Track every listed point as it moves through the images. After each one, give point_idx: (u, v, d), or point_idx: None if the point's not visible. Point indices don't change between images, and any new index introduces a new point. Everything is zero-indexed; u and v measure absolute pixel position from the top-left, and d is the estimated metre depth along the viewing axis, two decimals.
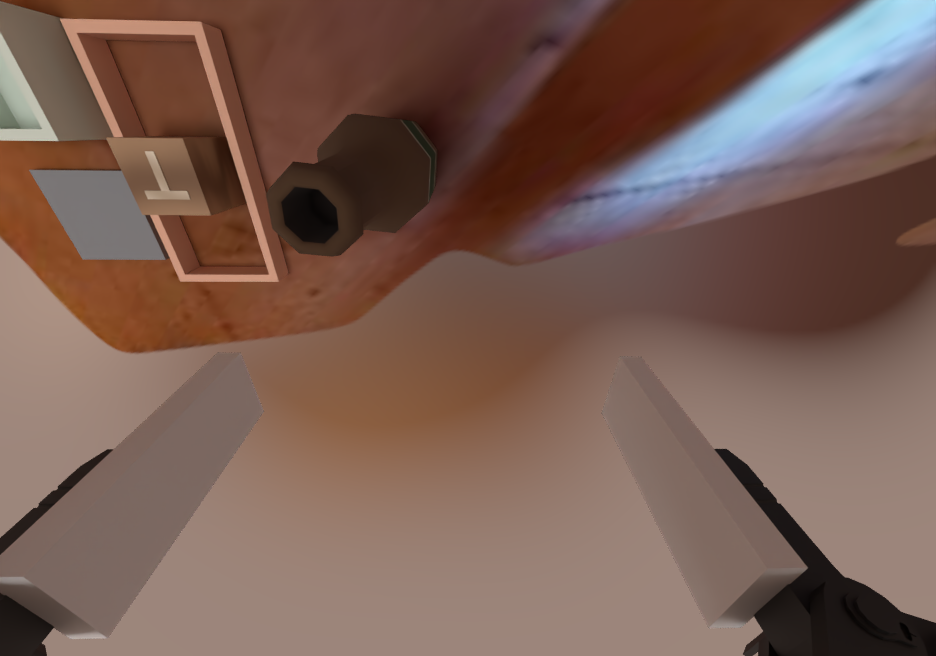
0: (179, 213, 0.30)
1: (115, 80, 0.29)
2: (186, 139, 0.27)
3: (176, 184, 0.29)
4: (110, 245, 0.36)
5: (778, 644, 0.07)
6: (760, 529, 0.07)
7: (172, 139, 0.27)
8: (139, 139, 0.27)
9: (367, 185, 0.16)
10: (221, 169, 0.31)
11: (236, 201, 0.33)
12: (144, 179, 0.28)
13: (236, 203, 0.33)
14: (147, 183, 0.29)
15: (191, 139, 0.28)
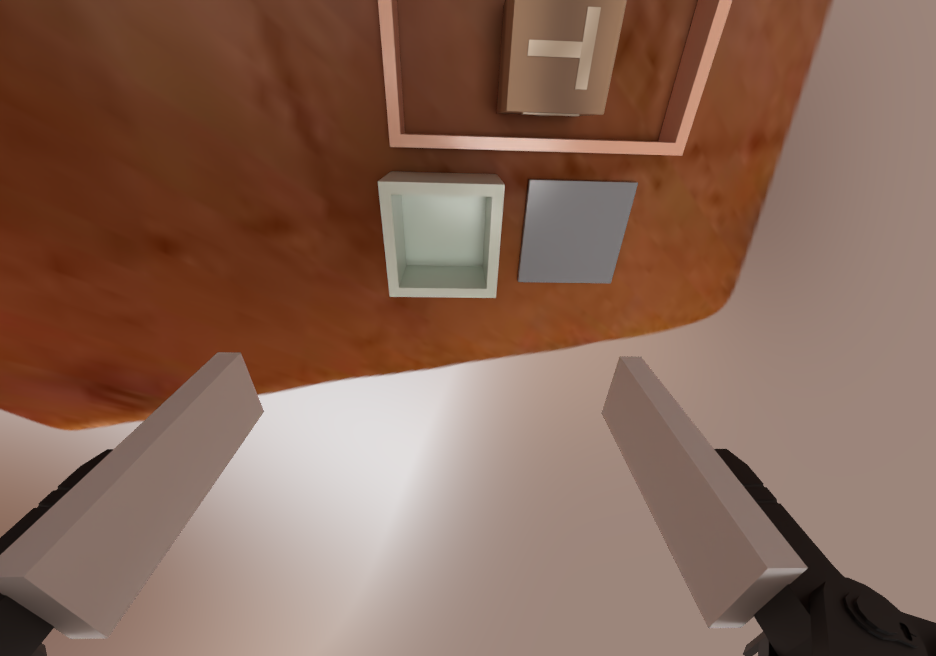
0: (615, 44, 0.19)
1: None
2: None
3: (575, 25, 0.18)
4: (604, 243, 0.30)
5: (777, 644, 0.07)
6: (760, 529, 0.07)
7: None
8: (512, 57, 0.19)
9: None
10: None
11: None
12: (561, 81, 0.20)
13: None
14: (566, 79, 0.20)
15: None
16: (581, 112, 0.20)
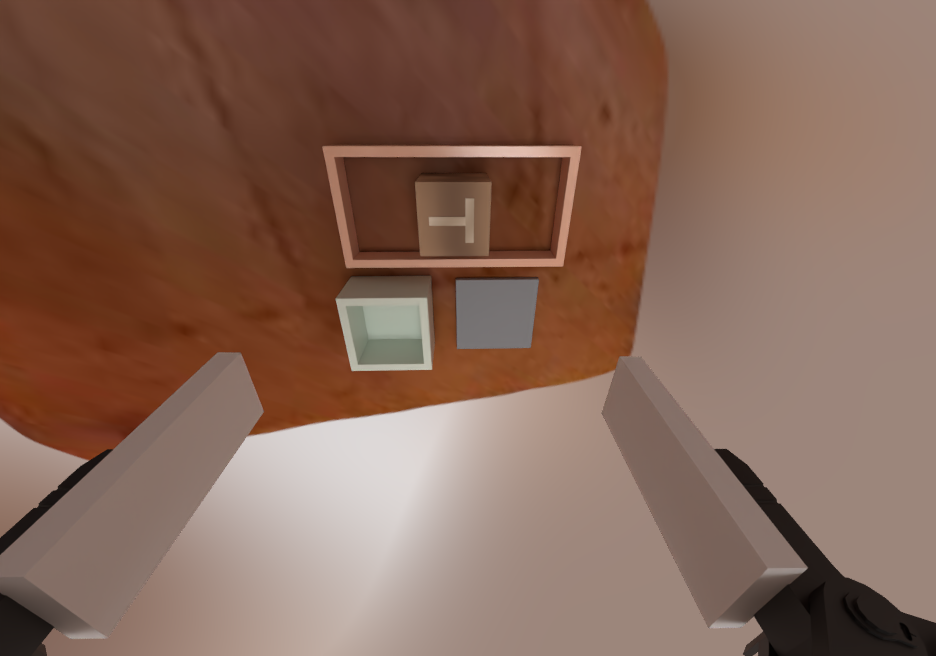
0: (488, 217, 0.28)
1: (385, 254, 0.34)
2: (416, 181, 0.27)
3: (459, 208, 0.27)
4: (520, 320, 0.39)
5: (778, 644, 0.07)
6: (760, 529, 0.07)
7: (416, 193, 0.27)
8: (419, 226, 0.28)
9: None
10: (449, 176, 0.29)
11: (482, 175, 0.30)
12: (455, 238, 0.29)
13: (485, 175, 0.30)
14: (458, 237, 0.28)
15: (417, 180, 0.27)
16: (472, 255, 0.29)
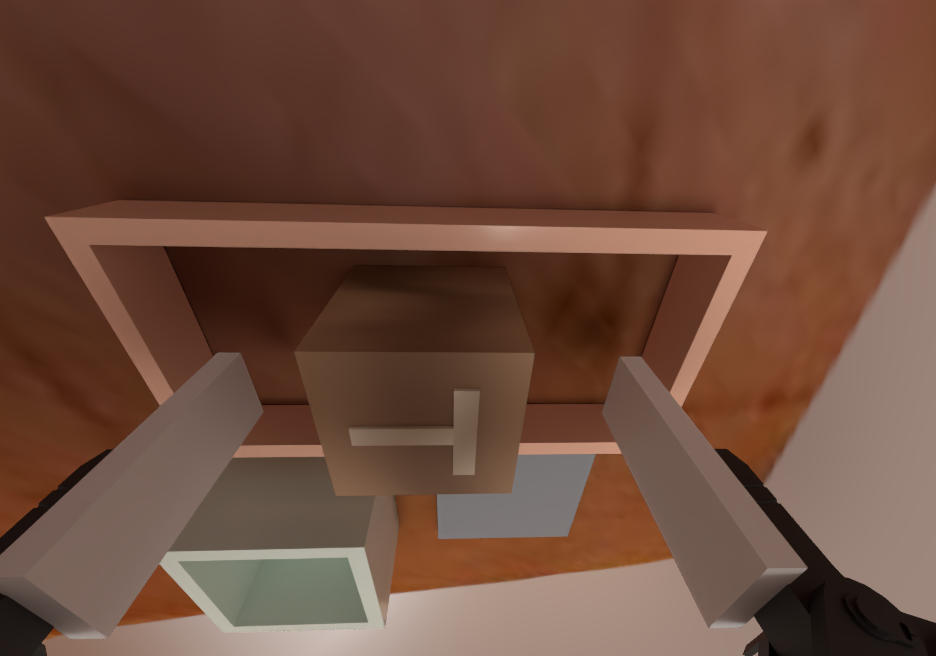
0: (517, 427, 0.10)
1: (286, 416, 0.16)
2: (303, 342, 0.09)
3: (435, 409, 0.09)
4: (554, 504, 0.21)
5: (778, 644, 0.07)
6: (760, 529, 0.07)
7: (304, 377, 0.09)
8: (325, 445, 0.10)
9: None
10: (415, 290, 0.11)
11: (499, 284, 0.12)
12: (425, 465, 0.11)
13: (505, 285, 0.12)
14: (434, 463, 0.11)
15: (312, 330, 0.09)
16: (471, 492, 0.12)
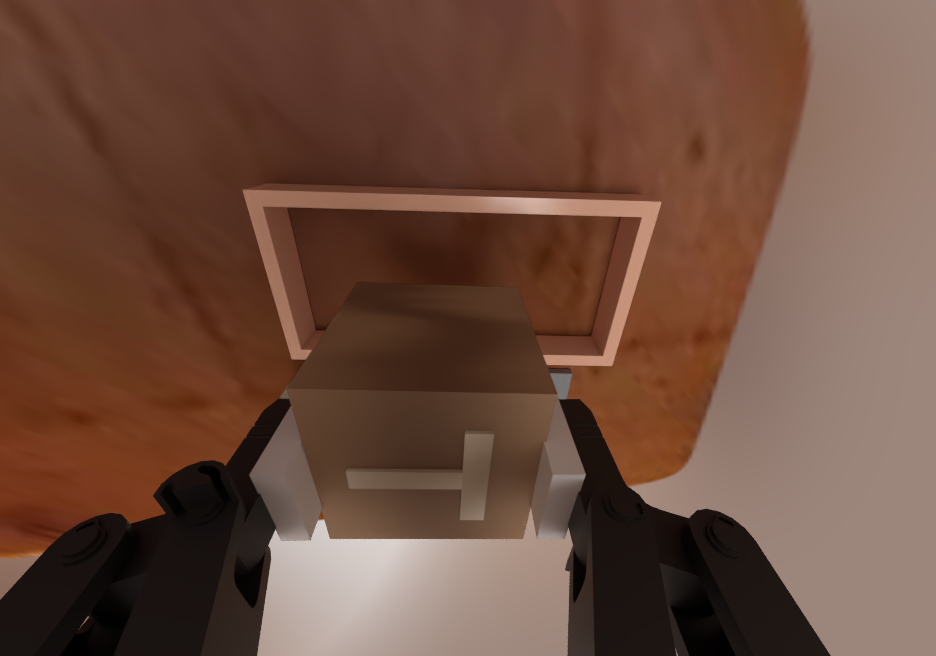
0: (533, 471, 0.09)
1: None
2: (297, 377, 0.08)
3: (443, 452, 0.08)
4: None
5: (575, 543, 0.08)
6: (563, 450, 0.08)
7: (297, 416, 0.08)
8: (319, 486, 0.09)
9: None
10: (423, 314, 0.11)
11: (512, 308, 0.11)
12: (429, 509, 0.10)
13: (519, 310, 0.11)
14: (439, 507, 0.10)
15: (307, 361, 0.08)
16: (479, 537, 0.11)
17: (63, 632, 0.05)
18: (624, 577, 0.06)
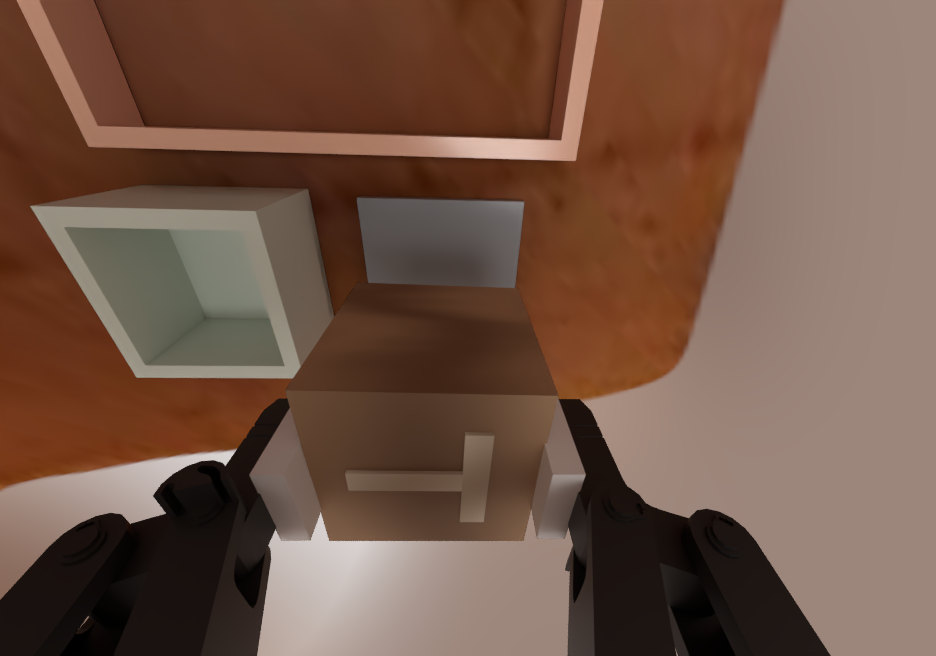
0: (534, 473, 0.09)
1: None
2: (296, 378, 0.08)
3: (442, 453, 0.08)
4: None
5: (575, 542, 0.08)
6: (562, 449, 0.08)
7: (296, 418, 0.08)
8: (318, 488, 0.09)
9: None
10: (423, 315, 0.10)
11: (513, 308, 0.11)
12: (429, 511, 0.10)
13: (519, 311, 0.11)
14: (439, 509, 0.10)
15: (306, 363, 0.08)
16: (479, 539, 0.10)
17: (63, 632, 0.05)
18: (624, 577, 0.06)
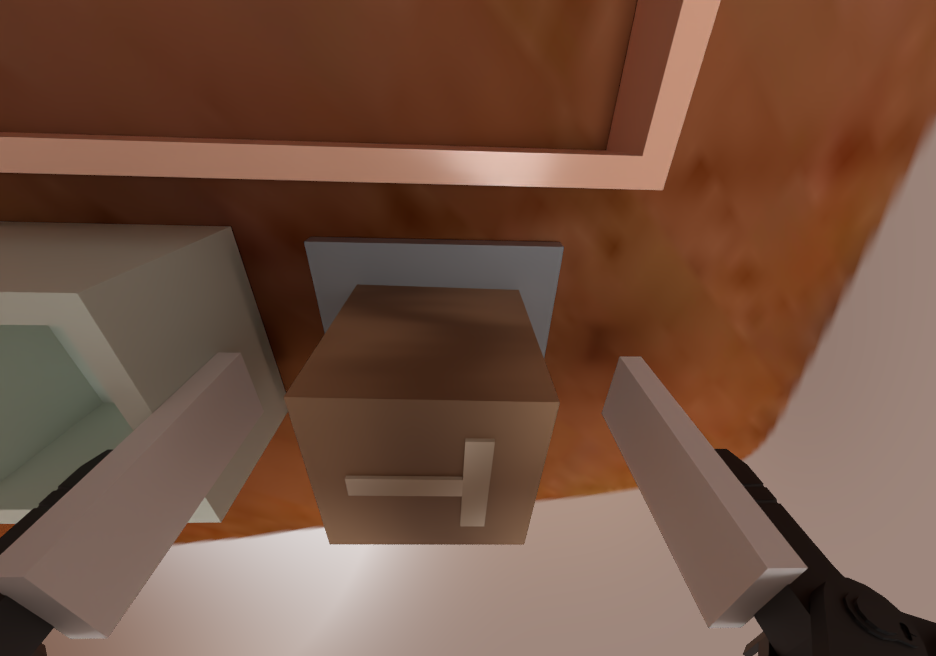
0: (535, 478, 0.09)
1: (23, 133, 0.10)
2: (295, 384, 0.08)
3: (443, 459, 0.08)
4: None
5: (778, 645, 0.07)
6: (760, 529, 0.07)
7: (295, 424, 0.08)
8: (318, 493, 0.09)
9: None
10: (423, 318, 0.10)
11: (514, 311, 0.11)
12: (430, 515, 0.10)
13: (520, 313, 0.11)
14: (440, 513, 0.10)
15: (306, 368, 0.08)
16: (480, 542, 0.10)
17: None
18: None
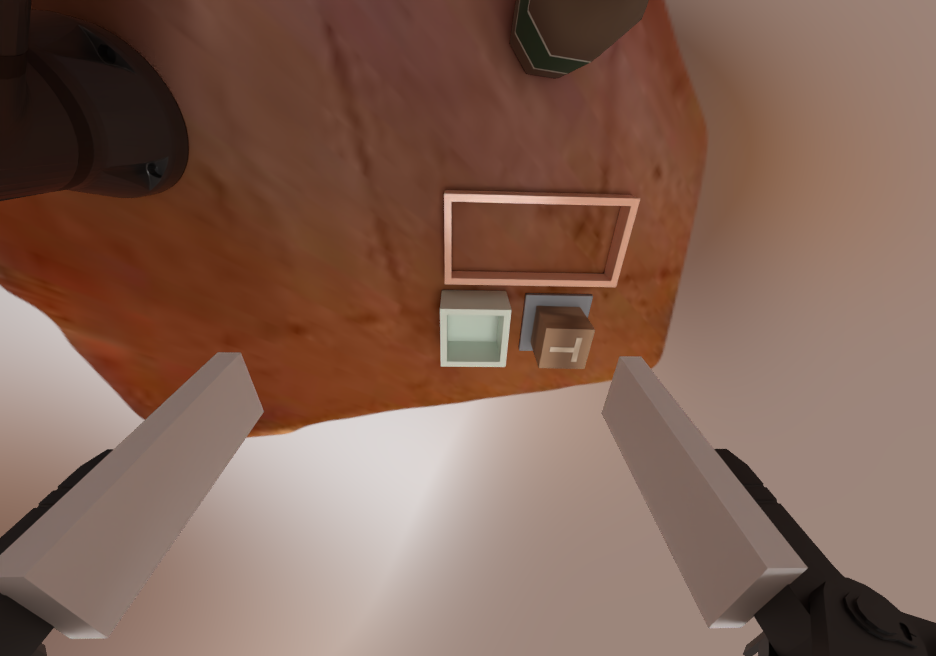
0: (588, 348, 0.42)
1: (473, 273, 0.43)
2: (546, 326, 0.41)
3: (571, 342, 0.42)
4: None
5: (777, 644, 0.07)
6: (760, 529, 0.07)
7: (546, 334, 0.41)
8: (542, 351, 0.42)
9: None
10: (560, 314, 0.44)
11: (580, 313, 0.44)
12: (564, 358, 0.43)
13: (582, 313, 0.44)
14: (566, 358, 0.43)
15: (545, 324, 0.41)
16: (573, 368, 0.44)
17: None
18: None
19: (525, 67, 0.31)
